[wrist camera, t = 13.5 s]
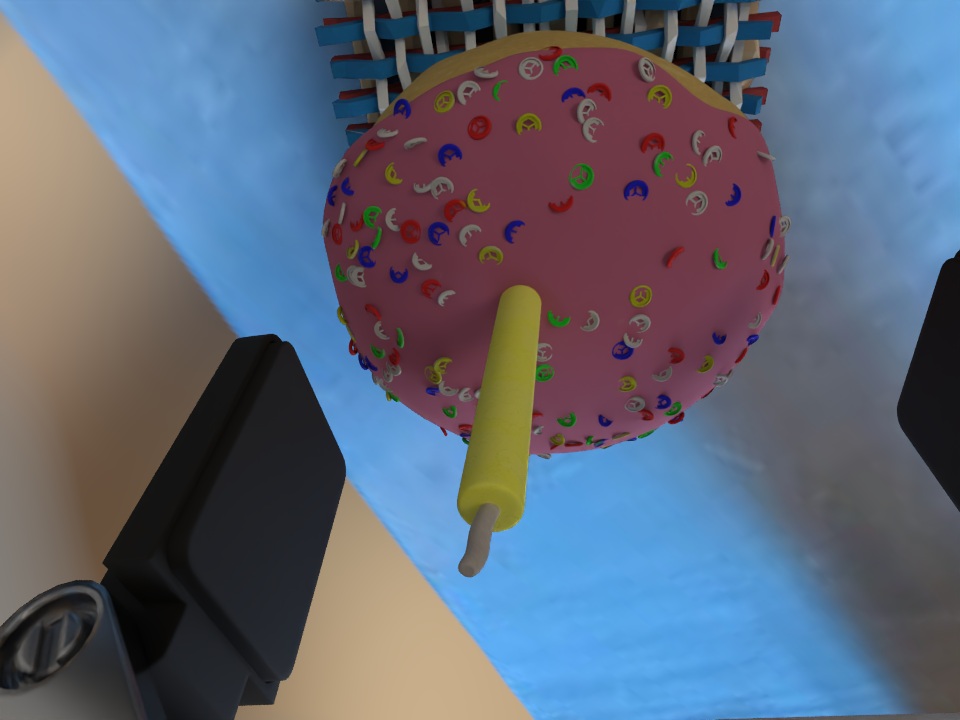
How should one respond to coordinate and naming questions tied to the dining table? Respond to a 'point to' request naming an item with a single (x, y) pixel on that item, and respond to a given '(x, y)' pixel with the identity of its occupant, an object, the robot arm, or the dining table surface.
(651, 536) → the dining table surface
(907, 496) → the dining table surface
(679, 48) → the woven mat
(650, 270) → the cupcake
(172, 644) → the robot arm
